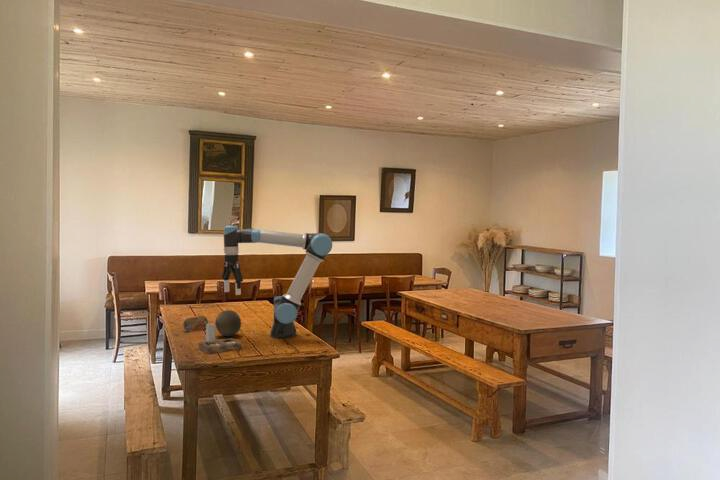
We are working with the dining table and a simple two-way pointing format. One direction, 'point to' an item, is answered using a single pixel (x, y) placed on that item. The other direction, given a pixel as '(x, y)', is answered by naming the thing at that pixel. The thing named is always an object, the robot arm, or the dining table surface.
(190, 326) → the tin
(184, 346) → the dining table surface
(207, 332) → the plug
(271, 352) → the dining table surface
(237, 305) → the dining table surface
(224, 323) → the dark grey round ball
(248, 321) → the dining table surface
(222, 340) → the socket board
